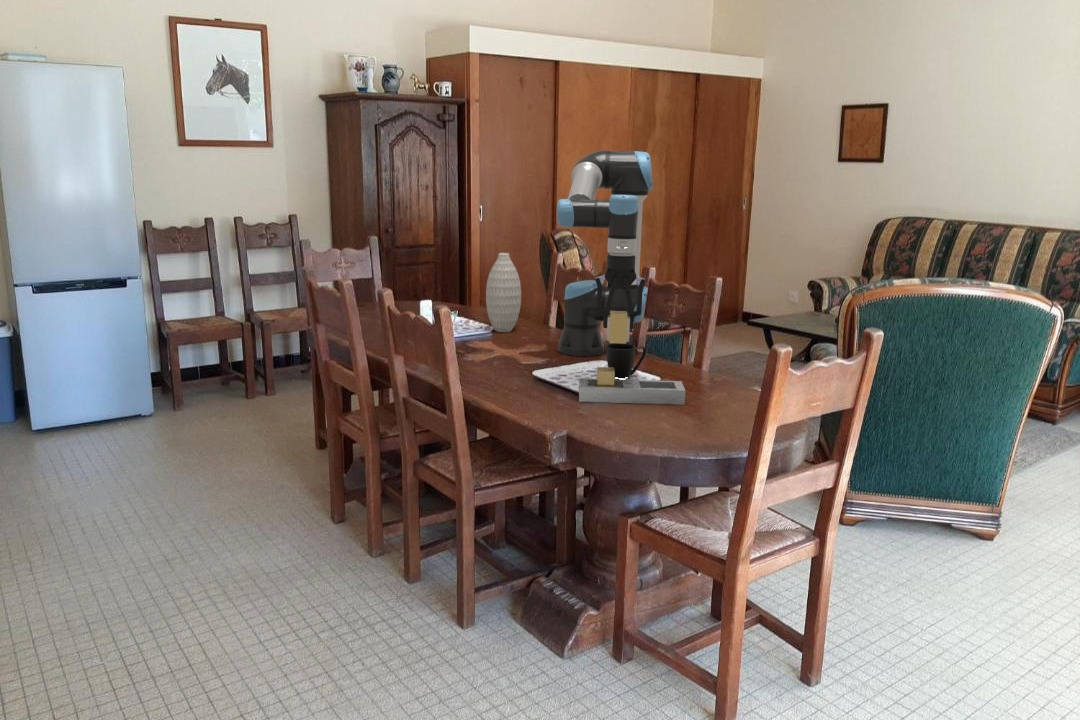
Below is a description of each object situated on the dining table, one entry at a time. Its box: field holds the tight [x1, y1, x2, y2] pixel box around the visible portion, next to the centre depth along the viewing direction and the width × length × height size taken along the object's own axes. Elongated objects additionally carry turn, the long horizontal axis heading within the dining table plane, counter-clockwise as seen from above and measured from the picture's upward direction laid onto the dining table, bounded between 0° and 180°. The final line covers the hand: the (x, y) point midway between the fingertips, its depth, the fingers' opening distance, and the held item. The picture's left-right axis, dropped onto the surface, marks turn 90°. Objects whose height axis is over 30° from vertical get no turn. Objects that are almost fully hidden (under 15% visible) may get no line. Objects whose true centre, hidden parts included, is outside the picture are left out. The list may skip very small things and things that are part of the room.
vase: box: [485, 252, 522, 333], centre depth 310 cm, size 13×13×28 cm
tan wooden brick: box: [596, 366, 615, 387], centre depth 232 cm, size 4×4×8 cm
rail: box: [578, 377, 687, 406], centre depth 232 cm, size 9×28×4 cm, turn 88°
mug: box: [606, 343, 647, 378], centre depth 253 cm, size 8×12×10 cm
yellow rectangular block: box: [608, 311, 627, 344], centre depth 232 cm, size 4×4×8 cm
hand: (617, 340), depth 232 cm, fingers closed on yellow rectangular block, 4 cm apart
